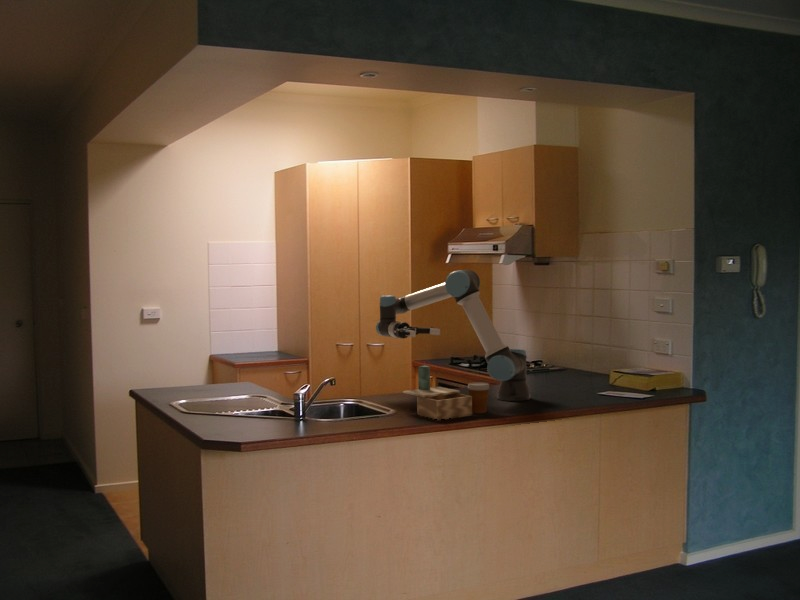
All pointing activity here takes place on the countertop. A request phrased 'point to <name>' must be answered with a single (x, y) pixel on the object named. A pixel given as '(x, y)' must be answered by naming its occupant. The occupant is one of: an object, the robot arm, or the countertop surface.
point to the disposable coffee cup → (478, 396)
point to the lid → (428, 385)
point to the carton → (445, 406)
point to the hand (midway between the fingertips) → (427, 333)
